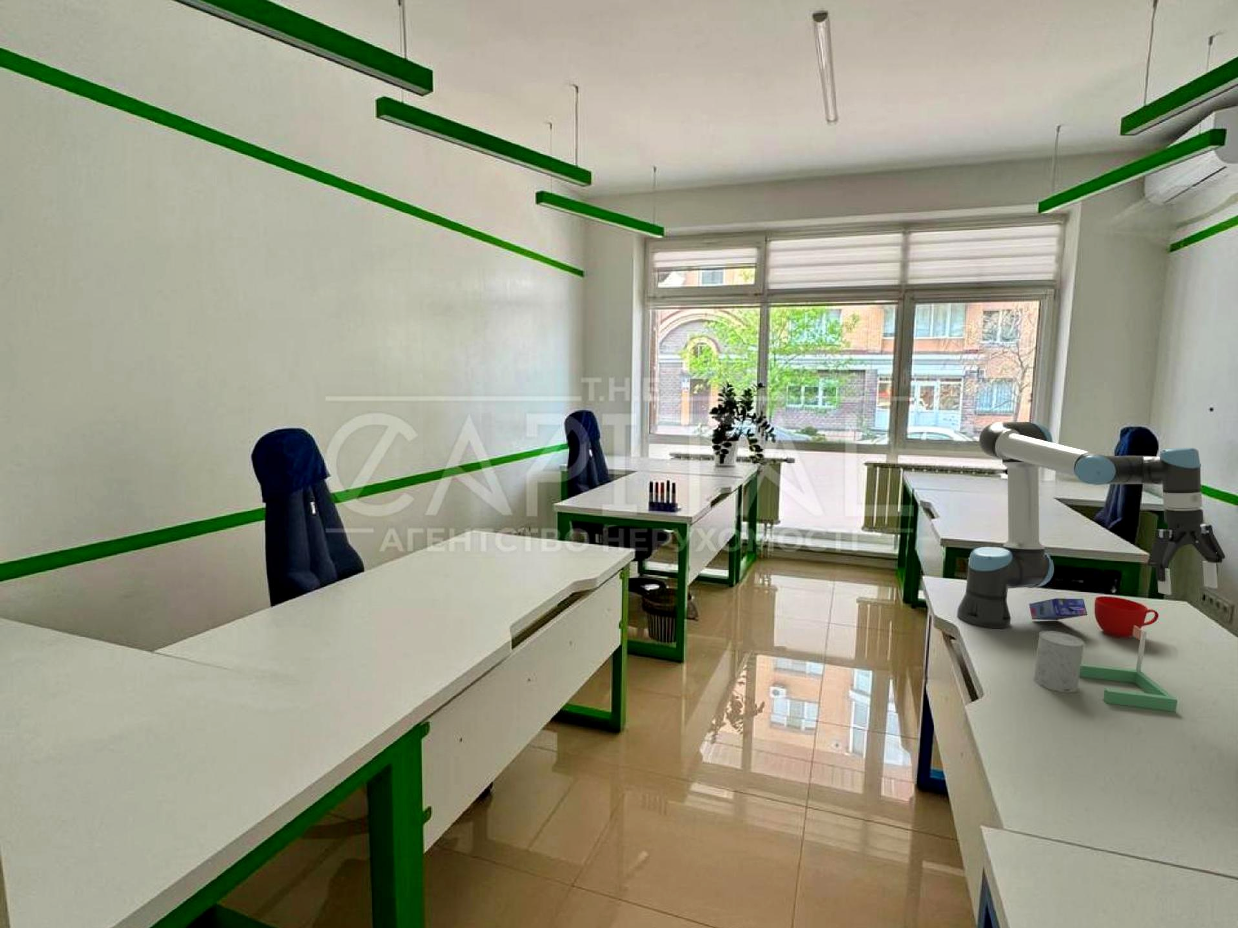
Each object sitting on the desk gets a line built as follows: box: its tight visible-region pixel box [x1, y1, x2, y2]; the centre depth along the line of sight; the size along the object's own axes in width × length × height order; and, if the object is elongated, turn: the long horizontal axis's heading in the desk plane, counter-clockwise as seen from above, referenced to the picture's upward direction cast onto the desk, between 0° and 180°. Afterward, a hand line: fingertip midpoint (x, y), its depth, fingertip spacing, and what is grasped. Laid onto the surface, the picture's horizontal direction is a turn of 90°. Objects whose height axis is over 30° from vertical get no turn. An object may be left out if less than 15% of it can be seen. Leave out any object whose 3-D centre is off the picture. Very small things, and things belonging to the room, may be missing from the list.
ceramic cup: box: [1093, 595, 1159, 639], centre depth 200 cm, size 13×17×10 cm
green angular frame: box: [1079, 625, 1178, 713], centre depth 163 cm, size 20×14×14 cm
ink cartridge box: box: [1028, 597, 1088, 621], centre depth 205 cm, size 10×6×14 cm
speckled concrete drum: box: [1032, 630, 1085, 694], centre depth 165 cm, size 10×10×12 cm
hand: (1188, 590), depth 165 cm, fingers open, 13 cm apart
